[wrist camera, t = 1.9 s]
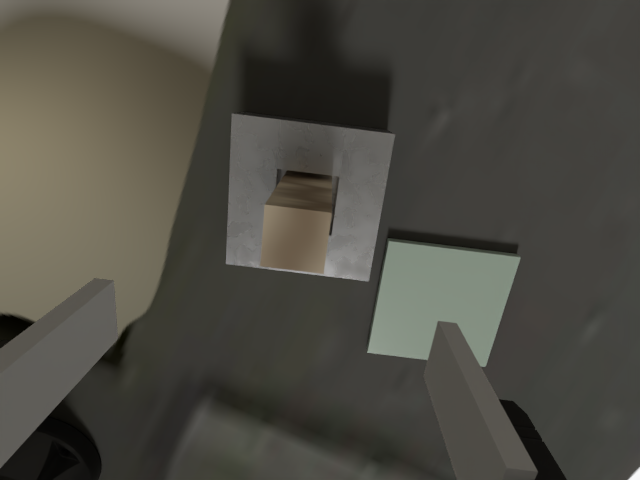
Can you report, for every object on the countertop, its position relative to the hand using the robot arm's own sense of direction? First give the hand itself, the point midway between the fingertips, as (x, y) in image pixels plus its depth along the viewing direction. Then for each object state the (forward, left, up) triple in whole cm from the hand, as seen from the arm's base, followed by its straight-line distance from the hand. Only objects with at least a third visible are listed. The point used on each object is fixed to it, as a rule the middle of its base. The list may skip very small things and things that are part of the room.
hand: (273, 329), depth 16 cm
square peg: (0, 0, -25) cm, 25 cm away
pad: (+16, -11, -26) cm, 32 cm away
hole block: (0, 0, -26) cm, 26 cm away
